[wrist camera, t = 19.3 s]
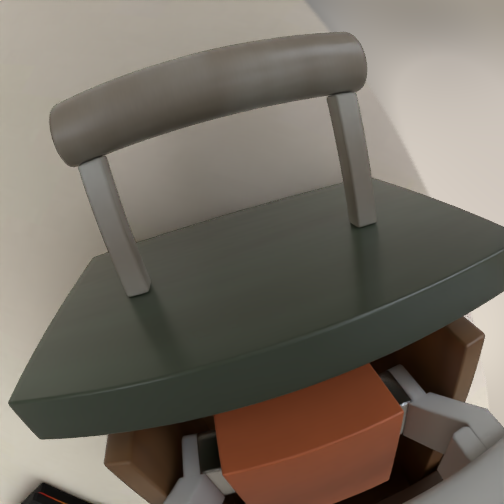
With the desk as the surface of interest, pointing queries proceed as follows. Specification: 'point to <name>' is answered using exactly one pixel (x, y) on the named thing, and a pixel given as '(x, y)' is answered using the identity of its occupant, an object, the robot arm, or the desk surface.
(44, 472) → the desk surface
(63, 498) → the keyboard
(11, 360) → the desk surface
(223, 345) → the drawer
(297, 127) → the desk surface
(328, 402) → the block
